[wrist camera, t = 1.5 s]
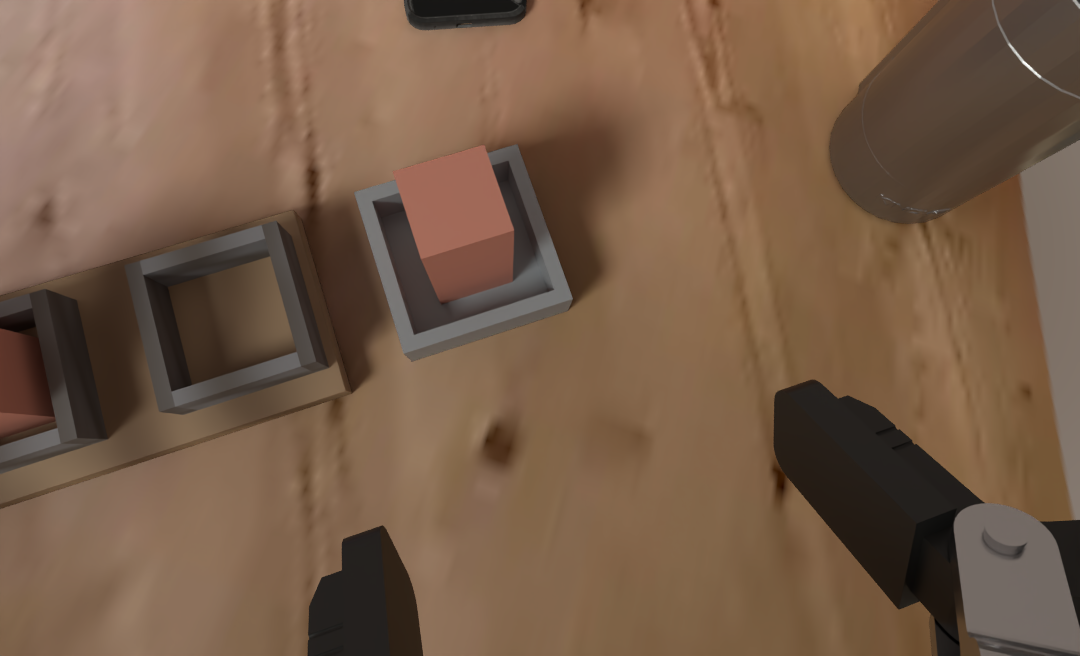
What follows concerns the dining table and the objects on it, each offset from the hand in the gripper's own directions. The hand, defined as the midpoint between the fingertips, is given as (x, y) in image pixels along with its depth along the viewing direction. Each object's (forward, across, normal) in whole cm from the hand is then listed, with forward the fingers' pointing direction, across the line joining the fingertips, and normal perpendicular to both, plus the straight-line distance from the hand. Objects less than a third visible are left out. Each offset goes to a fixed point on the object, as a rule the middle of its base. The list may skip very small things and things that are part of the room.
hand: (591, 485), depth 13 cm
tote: (+27, 0, +8) cm, 28 cm away
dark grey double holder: (+27, +19, +8) cm, 34 cm away
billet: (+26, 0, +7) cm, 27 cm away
